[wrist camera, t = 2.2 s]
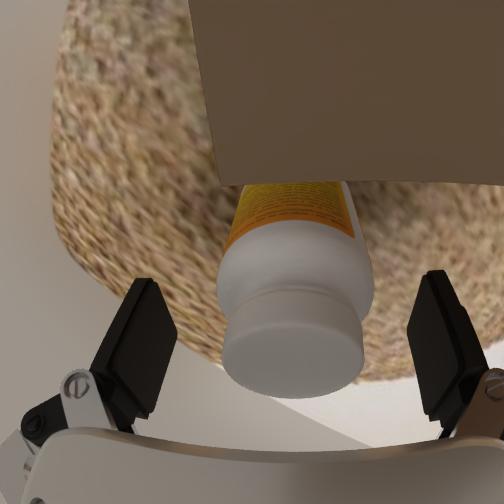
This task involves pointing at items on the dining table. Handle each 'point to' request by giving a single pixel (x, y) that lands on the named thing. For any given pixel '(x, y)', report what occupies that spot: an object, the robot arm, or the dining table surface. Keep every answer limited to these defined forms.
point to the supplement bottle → (295, 289)
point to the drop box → (353, 89)
